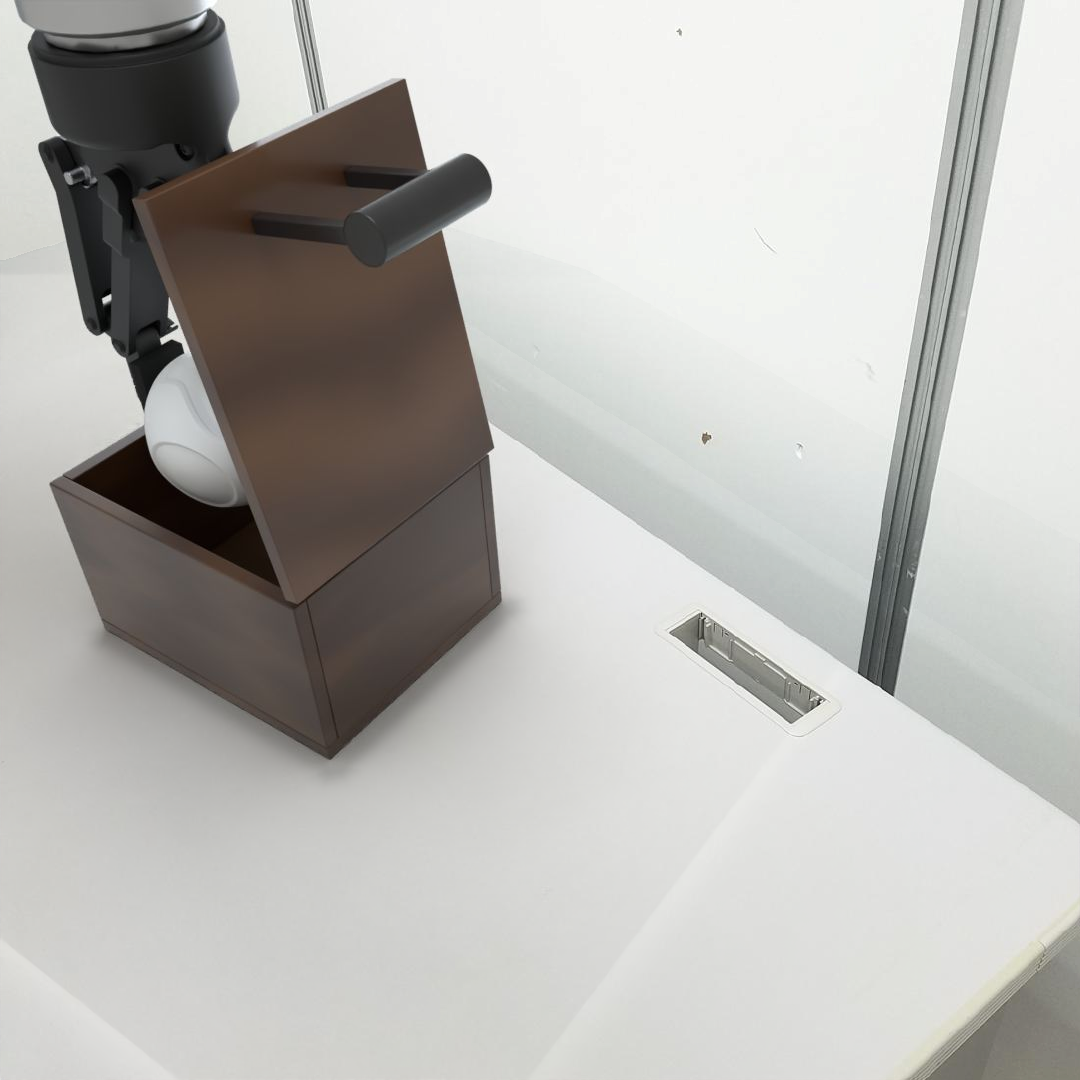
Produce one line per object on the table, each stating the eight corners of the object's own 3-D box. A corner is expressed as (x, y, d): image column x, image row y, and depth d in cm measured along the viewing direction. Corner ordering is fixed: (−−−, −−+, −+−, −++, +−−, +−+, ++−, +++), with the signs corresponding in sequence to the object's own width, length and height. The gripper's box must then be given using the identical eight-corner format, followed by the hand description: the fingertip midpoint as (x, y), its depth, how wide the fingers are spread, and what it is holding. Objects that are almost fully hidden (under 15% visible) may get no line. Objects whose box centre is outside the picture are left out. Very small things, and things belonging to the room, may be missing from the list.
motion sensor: (316, 531, 61) (287, 397, 56) (158, 547, 60) (114, 414, 55) (319, 438, 67) (293, 310, 62) (175, 453, 66) (137, 324, 61)
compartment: (104, 628, 67) (47, 482, 60) (285, 499, 75) (252, 358, 69) (329, 760, 60) (293, 610, 53) (502, 600, 68) (489, 454, 61)
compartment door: (130, 198, 43) (282, 213, 39) (391, 77, 51) (540, 78, 47) (285, 600, 53) (418, 647, 49) (482, 445, 61) (611, 473, 57)
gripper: (-118, 2, 51) (54, 459, 66) (239, 101, 42) (343, 604, 57) (36, -44, 55) (164, 393, 70) (388, 37, 46) (447, 518, 61)
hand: (243, 487), depth 63 cm, fingers closed on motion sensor, 8 cm apart
